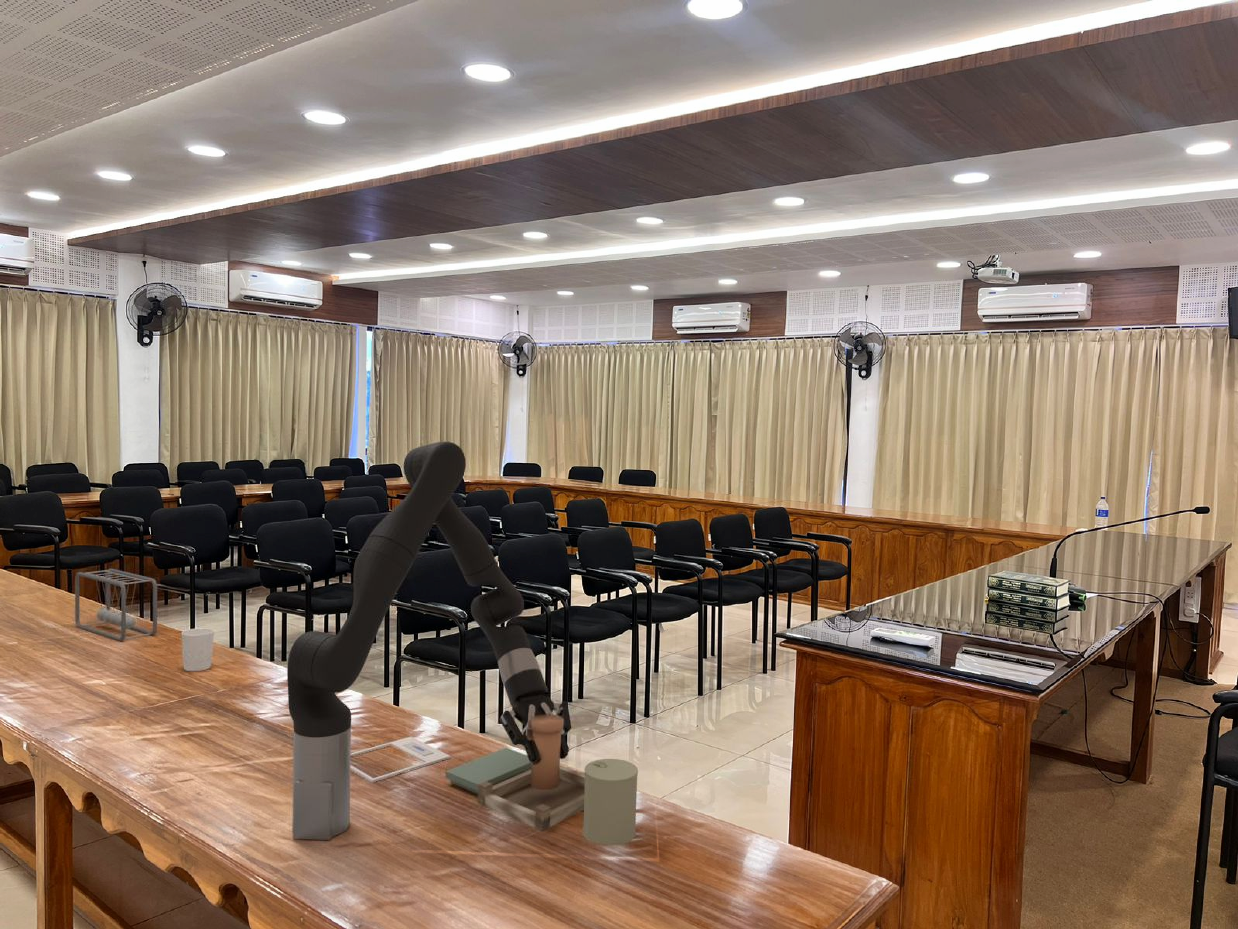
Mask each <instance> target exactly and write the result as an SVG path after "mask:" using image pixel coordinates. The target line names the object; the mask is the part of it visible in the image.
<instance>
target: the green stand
mask: <svg viewBox="0 0 1238 929" xmlns="http://www.w3.org/2000/svg"><path fill="white" fill-rule="evenodd" d="M531 765H532V762H530V761H529V759H528V756H527V754H526V753H525V754H524V753H521V752H518V751H516V750H513V749H511V748H508V747H505V748H501V749H499V750H497V751H494V752H491V753H488V754H487V755H484V756H481V757H479V758H476V759H473V760H471V761H469V762H466V763H464V764H461V765H459V766H455V767H453V768H450V769H448V770H446V771H445V779H449V780H450V783H451V784H453V785H455V786H458V787H460V788H462V789H464V790H465V789H466V790H467V791H470V792H472V793H475V794H477V795H478V784H480V783H482V782H485V781H487V782H489V783H492V786H494V785H496V784H498V783H501V782H503V781H505V780H508V779H510V778H512V777H514V776H517V775H519V774H521V773H524V772H526V771H528V770H531Z"/></svg>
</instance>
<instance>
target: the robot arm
mask: <svg viewBox="0 0 1238 929" xmlns="http://www.w3.org/2000/svg"><path fill="white" fill-rule="evenodd" d="M465 456H466V455H465V452H464V451H463V449H462V448H461V447H460V446H459V445H458V444H456V443H454V442H451V441H438V442H437V441H436V442H433V443H429V444H426V445H422V446H421V445H420V446H417V447H415V448H412V449H411V450H409V452H408V453H407V454H406V456H405V458H404V461H403V474H404V476H405V479H406V481H407V483H408V484H409V487H411V488H410V491H409V492H408V494H407V495H406V496H405V497H404V499H403V500H401V501H400V502H399V503H398V504H397V506H395V507H394V508H393V509H392V510H391V511H390V512H389V513H388V514H386V516H385V517H384V518H383V519H382V520H381V521H380V522H379V523H378V524H377V525H376V526H375V527H374V528H373V530H372V531H371V533H370V534H369V536H368V537H367V539H366V540H365V543H364V545H363V547H362V548H361V549H360V551H359V554H358V555H357V557H356V559H355V561H354V565H353V566H354V567H353V579H352V580H353V581H352V582H353V602H352V606H351V609H350V611H349V614H348V615H347V618H346V620H345V621H344V623H343V625H342V626H341V628H340V629H339V631H338V632H337V633H336V634H334V633H329V632H324V631H316V630H313V631H307V632H304V633H302V634H300V636H299V637H297V639H295V641H294V642H293V644H292V646H291V648H290V650H289V654H288V658H287V668H286V669H287V671H286V672H287V673H286V674H287V675H286V677H287V697H288V698H287V699H288V702H287V703H288V711H289V715H290V718H291V720H292V722H293V723H292V724H293V743H292V744H293V746H292V747H293V748H292V752H293V753H292V756H293V757H292V824H291V825H292V828H291V829H292V839H295V840H316V841H317V840H318V841H329V840H330V841H331V839H332V838H333V837H335V836H338V835H340V834H342V833H343V832H345V831H347V829H348V828H349V827H350V823H351V820H350V819H351V816H350V815H351V770H350V765H351V757H350V755H351V753H352V752H351V750H352V749H351V746H352V745H351V744H352V712H351V710H350V709H351V708H350V707H349V706H348V705H346V704H345V703H344V702H343V701H342V700H341V699H340V697H338V695H337V694H338V693H342V692H344V691H346V690H348V689H349V688H350V687H352V685H353V684H354V683H355V682H356V680H357V679H358V677H359V675H360V674H361V672H362V670H363V668H364V666H365V664H366V661H367V659H368V656H369V654H370V651H371V649H372V646H373V645H374V641H375V639H376V637H377V635H378V632H379V630H380V627H381V626H382V623H383V620H384V618H385V617H386V614H387V612H388V611H389V609H390V606H391V605H392V602H393V601H394V598H395V596H396V594H397V593H398V591H399V589H400V587H401V585H402V583H403V582H404V580H405V578H406V577H407V575H408V574H409V571H410V570H411V568H412V566H413V564H414V562H415V560H416V557H417V556H418V554H419V551H420V549H421V547H422V545H423V544H424V542H425V541H426V538H427V537H428V535H429V534H430V532H431V529H432V528H433V526H434V524H435V525H436V526H437V529H439V531H440V532H441V534H442V535H443V537H444V540H445V541H446V543H447V544H448V546H449V548H450V550H451V552H452V554H453V556H454V558H455V561H456V562H457V564H458V566H459V569H460V571H461V573H462V575H463V577H464V579H465V581H466V583H467V585H469V586H471V587H481V586H485V585H487V586H488V585H489V586H490V585H492V586H494V587H496V588H494V589H492V590H491V589H490V590H489V591H487V592H485V593H482V594H480V595H478V596H476V597H474V598H473V600H472V601H471V604H470V613H471V616H472V617H473V619H474V621H475V623H477V625H478V627H479V628H480V629H481V630H482V632H483V633H484V635H485V636H486V638H487V639H488V641H489V642H490V643H489V644H491V648H492V650H493V652H494V655H495V659H496V661H497V662H496V663H497V665H498V669H499V675H500V677H501V681H502V683H503V687H504V689H505V692H506V695H507V696H506V697H507V698H508V702H509V704H510V706H511V710H505V711H504V712H503V713H502V715H501V716H500V718H499V722H500V723H501V725H502V727H503V729H504V731H505V732H506V734H507V736H508V738H509V740H510V741H511V743H512V744H513V745H514V746H517V745H521V746H523V747H524V750H525V754H526V755H527V756H528V759H529V761H530V762H532V763H533V765H535V764H538V763H539V762H540V760H541V758H540V755H539V752H538V749H537V746H536V744H535V741H532V739H533V730H532V729H531V718H532V717H534V716H537V715H542V714H551V715H557V716H560V717H562V718H563V719H564V725H563V730H562V731H561V747H560V760H563V759H566V758H567V757H568V755H569V752H570V748H569V745H568V743H567V740H566V737H565V736H567V735H568V733H569V732H570V731H571V730H572V722H571V716H570V710H569V704H568V701H566V700H563V701H561V703H559V702H554V701H553V699H552V698H550V696H549V690H548V687H547V685H546V684H547V683H546V681H545V678H544V676H543V673H542V670H541V668H540V665H539V662H538V660H537V657H536V656H535V654H534V651H533V650H532V648H531V645H530V644H531V643H530V642H529V639H528V636H527V633H526V630H525V629H524V628H523V627H522V626H521V625H515V624H514V625H507V626H499V625H501V624H503V623H505V622H509V621H511V620H513V619H515V618H518V617H519V616H521V615H522V613H523V612H524V608H525V601H524V597H523V595H522V593H521V592H520V591H519V589H517V587H516V586H515V585H514V583H512V582H511V581H510V579H508V577H507V576H506V575H505V574H504V572H503V571H502V569H501V568H500V566H499V564H498V563H497V560H496V558H495V556H494V553H493V551H492V550H491V547H490V545H489V543H488V542H487V539H486V537H485V536H484V534H483V533H482V532H481V531H480V529H478V527H477V526H476V525H475V524H474V523H473V522H472V521H471V520H470V519H469V518H468V517H467V516H466V515H465V514H464V513H463V512H462V510H461V509H460V508H459V507H458V505H457V504H456V503H455V500H454V499H453V498H452V496H453V494H454V492H456V489H457V488H458V487H459V485H460V483H461V482H462V480H463V478H464V476H465V472H466V465H467V463H466V462H467V461H466V457H465ZM336 693H337V694H336ZM553 712H555V714H553ZM516 720H517V721H518V722H520V723H521V728H520V727H519V725H517V722H516Z"/></svg>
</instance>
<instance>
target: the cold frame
mask: <svg viewBox="0 0 1238 929" xmlns="http://www.w3.org/2000/svg"><path fill="white" fill-rule="evenodd" d="M578 772H579V771H576V770H573V769H570V768H568V767H565V766H563V765H560V773H559V786H558V787H556V788H554V789H550V790H540V789H536V788H534V787H532V786H531V770H528V771H526V772H524V773H519V774H517V775H514V776H512V777H510V778H507V779H505V780H503V781H500V782H498V783H496V784H494V785H492V783H489V782H487V781H485V782H482V783H480V784H478V794H477V805H481V806H482V807H485V808H488V809H490V810H492V811H494V812H496V813H497V812H498V813H499V814H502V815H504V816H506V817H509V818H511V819H513V820H515V821H518V822H521V823H523V824H526V825H527V826H530V827H533V828H534V829H537V830H539V831H542V832H544V831H546V830H548V829H550V828H552V827H554V826H556V825H557V824H559V823H561V822H562V821H565V820H567V819H569V818H570V817H572V816H574V815H576V814H578V813H580V812H582V811H584V795H585V773H582V772H579V773H578Z"/></svg>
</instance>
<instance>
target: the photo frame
mask: <svg viewBox="0 0 1238 929" xmlns="http://www.w3.org/2000/svg"><path fill="white" fill-rule="evenodd" d="M387 746H388V747H393V746H394V747H395V749H396V748H397V750H398V749H400V750H402V751H403V752H402V751H401V752H402V753H404V752H405V753H404V754H406V753H409V754H410V755H412V756H414V757H416V758H417V759H419V760H421V761H423V762H424V763H423V762H421V761H420V762H421V763H419V764H415V765H412V766H411V765H410V766H408V767H406V768H402V769H400V770H399V769H398V770H395V771H393V772H389V773H386V774H382V775H380V776H377V777H374V778H373V777H372V776H370V775H368V774H367V773H365V772H364V771H362V770H361V769H358V768H357V767H355V766H353V765H352V764H350V772H353V773H355V774H356V773H357V774H356V775H357V776H359V777H361V778H363V779H364V780H366V781H368V782H370V783H371V784H372V783H377V782H379V780H380V781H382V780H385V779H389V778H392V777H395V775H396V776H398V775H397V774H399V773H402V774H404V773H403V772H405V771H408V770H412V771H414V770H413V769H415V768H418V767H421V768H424V767H427V766H426V765H428V766H430V765H429V764H431V763H434V764H436V762H437V763H440V762H443V761H442V760H444V761H446V759H447V760H449V758H450V759H451V755H449V754H447V753H445V752H443V751H442V750H439V749H438V748H435V747H433V746H431V745H429V744H427V743H426V742H423V741H421V740H419V739H417V738H415V737H413V736H408V737H404V738H401V739H398V740H397V739H396V740H394V741H390V742H385V743H384V744H383V743H382V744H380V745H375V746H373V747H367V748H365V749H362V750H357V751H353V752H351V755H350V756H353V757H357V756H359V755H358V754H360V755H362V754H361V753H364V754H367V753H370V752H369V751H371V752H373V751H372V750H374V751H377V750H376V749H378V750H381V749H384V747H385V748H388V747H387ZM394 747H393V748H394ZM400 750H399V751H400ZM366 752H367V753H366ZM356 755H357V756H356ZM410 755H409V756H410ZM412 756H411V757H412ZM417 759H416V760H417ZM419 760H418V761H419ZM431 765H432V764H431ZM423 766H424V767H423ZM418 769H419V768H418ZM415 770H416V769H415ZM408 772H409V771H408ZM405 773H406V772H405ZM399 775H400V774H399ZM388 777H389V778H388ZM376 781H377V782H376Z"/></svg>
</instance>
